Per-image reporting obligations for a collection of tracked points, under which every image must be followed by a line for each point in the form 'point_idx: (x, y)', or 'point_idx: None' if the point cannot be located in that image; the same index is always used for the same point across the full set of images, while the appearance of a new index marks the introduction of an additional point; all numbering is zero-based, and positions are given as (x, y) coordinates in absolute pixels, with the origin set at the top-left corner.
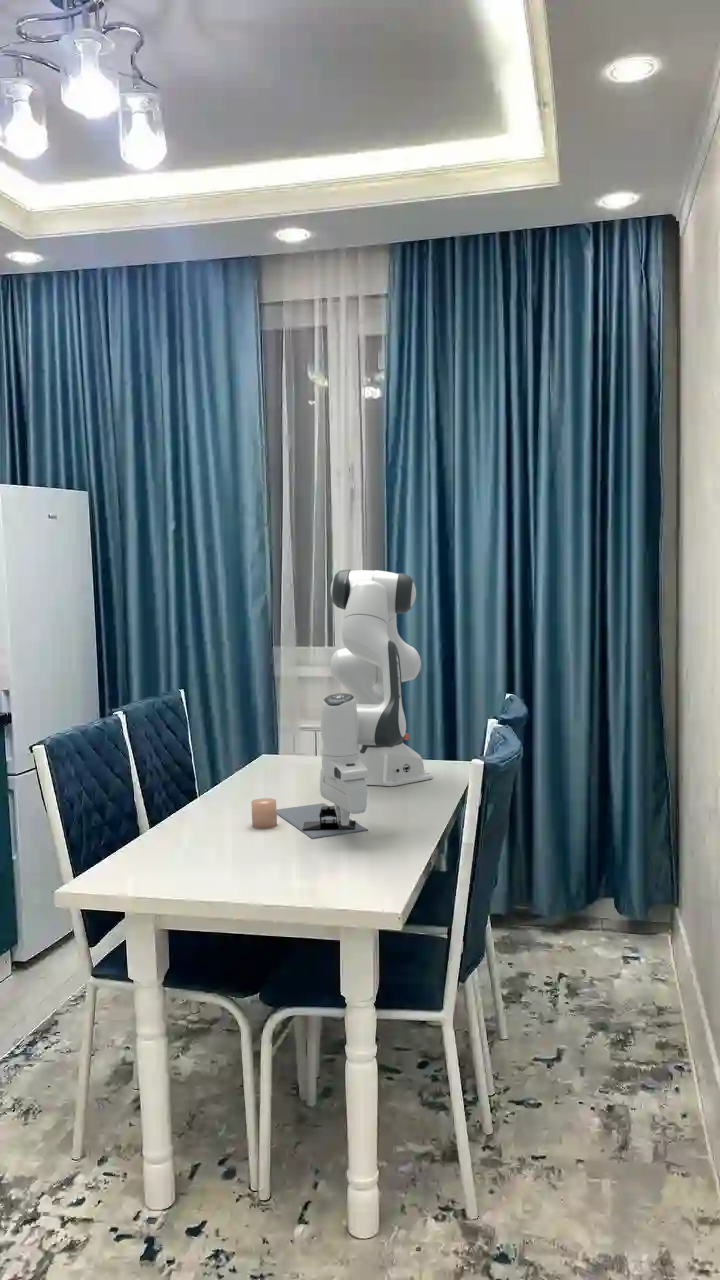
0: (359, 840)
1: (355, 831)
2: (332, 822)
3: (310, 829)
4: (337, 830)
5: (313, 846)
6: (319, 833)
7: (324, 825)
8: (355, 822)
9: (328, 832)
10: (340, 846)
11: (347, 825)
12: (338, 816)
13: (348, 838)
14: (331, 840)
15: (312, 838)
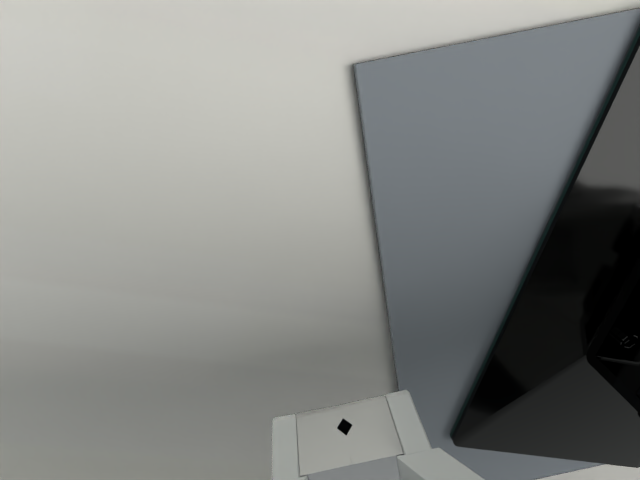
0: (184, 431)
1: None
2: (622, 327)
3: (616, 96)
4: (487, 326)
5: (59, 24)
6: (469, 166)
7: (616, 248)
8: (605, 460)
9: (463, 250)
10: (25, 284)
11: (526, 414)
12: (380, 458)
13: (263, 370)
14: (243, 238)
15: (356, 69)
